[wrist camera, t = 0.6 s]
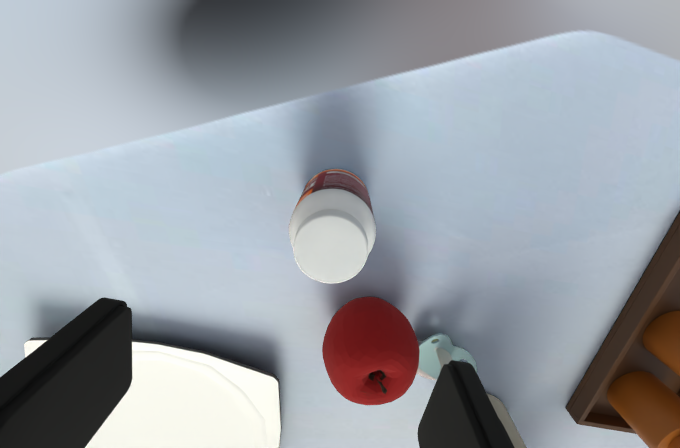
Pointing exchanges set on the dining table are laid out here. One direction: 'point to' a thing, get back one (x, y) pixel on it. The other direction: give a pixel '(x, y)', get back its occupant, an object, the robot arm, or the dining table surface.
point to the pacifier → (439, 355)
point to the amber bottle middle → (665, 339)
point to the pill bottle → (332, 227)
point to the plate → (190, 402)
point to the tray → (632, 340)
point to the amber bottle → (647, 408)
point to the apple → (370, 351)
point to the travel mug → (507, 422)
